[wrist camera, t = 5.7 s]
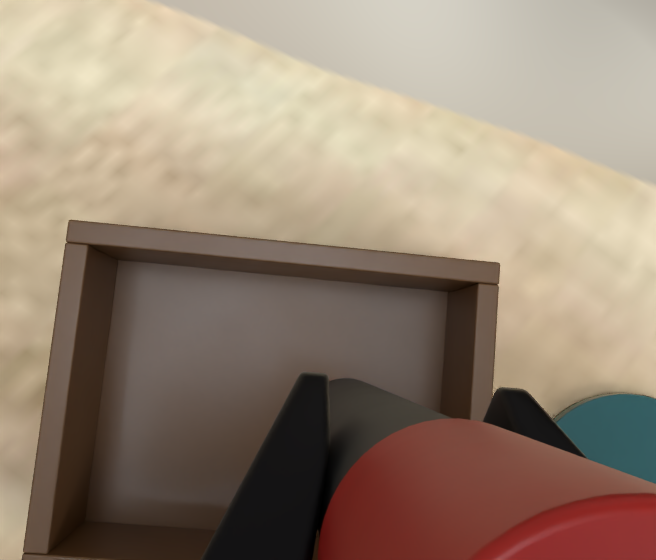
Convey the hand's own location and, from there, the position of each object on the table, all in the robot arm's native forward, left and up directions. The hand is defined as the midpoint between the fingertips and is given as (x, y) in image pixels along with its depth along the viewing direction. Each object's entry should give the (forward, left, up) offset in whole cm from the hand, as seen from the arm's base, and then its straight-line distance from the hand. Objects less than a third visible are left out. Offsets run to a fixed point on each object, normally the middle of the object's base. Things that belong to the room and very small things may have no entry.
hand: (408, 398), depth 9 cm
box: (0, +2, -13) cm, 14 cm away
